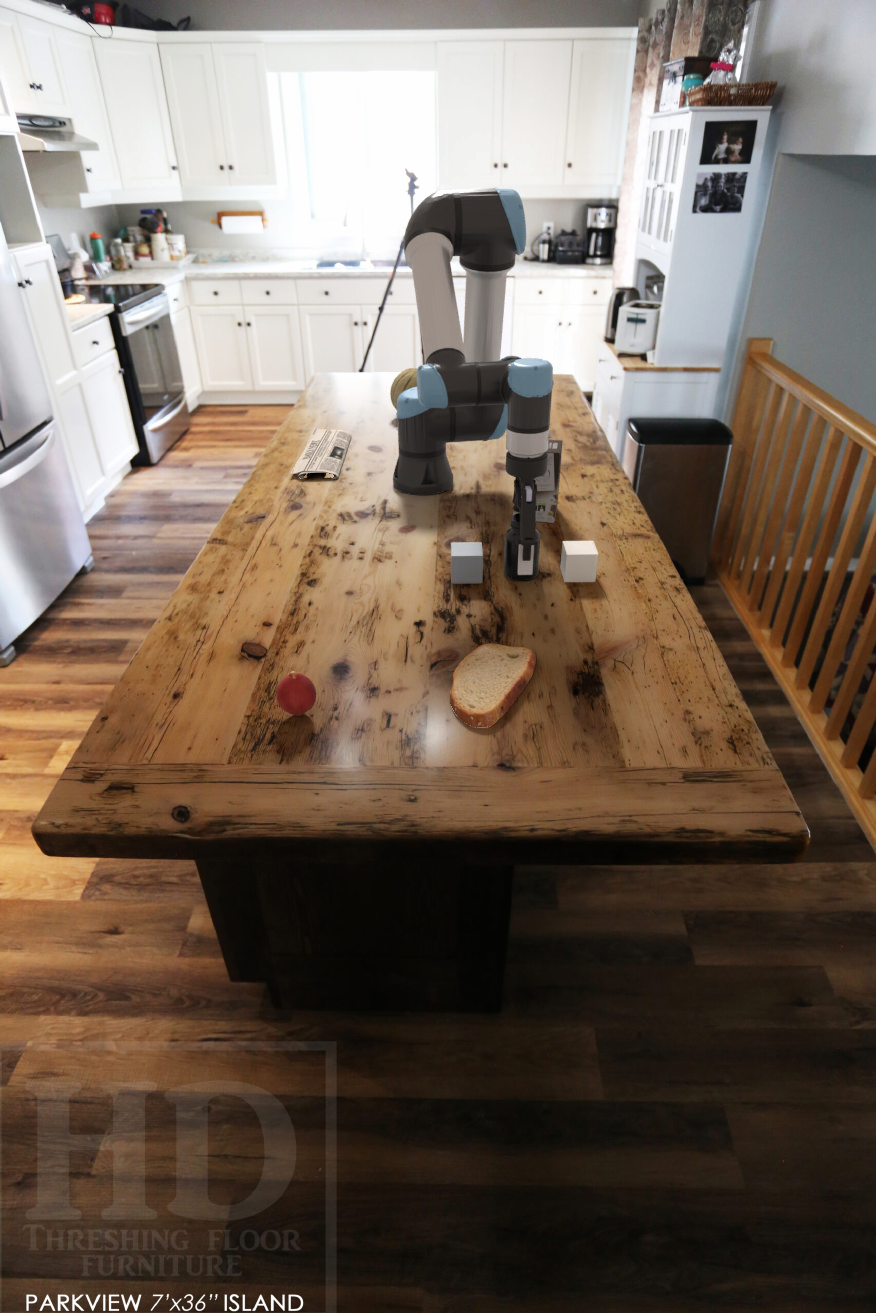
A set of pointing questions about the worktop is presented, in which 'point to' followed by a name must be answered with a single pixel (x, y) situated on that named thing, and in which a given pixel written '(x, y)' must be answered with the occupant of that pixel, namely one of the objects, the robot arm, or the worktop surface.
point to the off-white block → (579, 561)
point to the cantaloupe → (403, 384)
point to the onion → (296, 694)
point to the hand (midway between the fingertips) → (521, 557)
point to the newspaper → (323, 452)
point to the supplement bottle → (513, 551)
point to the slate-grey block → (466, 562)
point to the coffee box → (549, 484)
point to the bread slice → (490, 682)
